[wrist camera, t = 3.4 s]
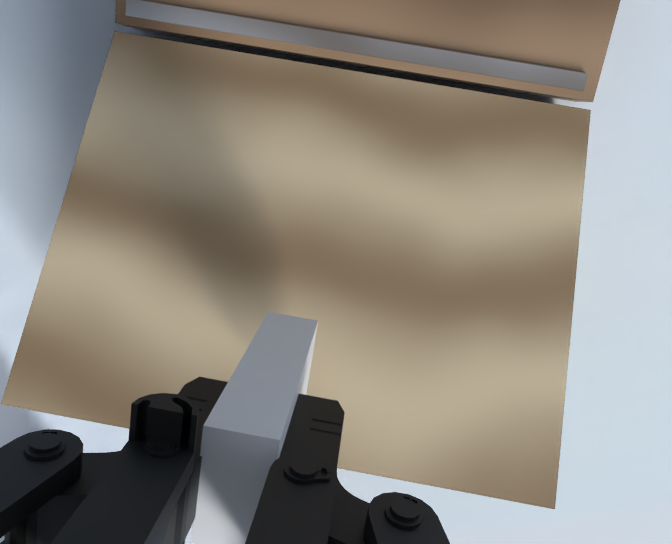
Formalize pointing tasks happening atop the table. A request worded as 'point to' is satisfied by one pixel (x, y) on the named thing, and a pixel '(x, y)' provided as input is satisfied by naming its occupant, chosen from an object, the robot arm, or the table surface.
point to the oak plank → (321, 256)
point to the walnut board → (411, 36)
